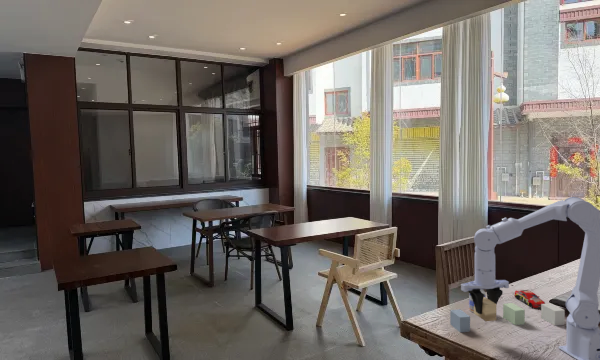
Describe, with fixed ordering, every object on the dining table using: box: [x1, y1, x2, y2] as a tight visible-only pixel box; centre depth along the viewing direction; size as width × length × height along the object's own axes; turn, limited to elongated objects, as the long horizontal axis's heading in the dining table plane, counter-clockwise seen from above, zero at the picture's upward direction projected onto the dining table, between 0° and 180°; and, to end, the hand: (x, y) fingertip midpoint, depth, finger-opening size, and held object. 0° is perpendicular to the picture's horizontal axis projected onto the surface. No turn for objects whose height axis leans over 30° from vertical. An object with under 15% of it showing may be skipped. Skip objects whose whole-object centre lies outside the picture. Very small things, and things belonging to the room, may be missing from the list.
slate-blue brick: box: [449, 308, 471, 333], centre depth 129 cm, size 6×4×5 cm, turn 8°
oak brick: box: [473, 297, 497, 322], centre depth 120 cm, size 6×4×5 cm, turn 8°
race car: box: [514, 289, 546, 309], centre depth 148 cm, size 13×5×4 cm, turn 3°
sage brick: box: [502, 302, 526, 326], centre depth 133 cm, size 6×4×5 cm, turn 8°
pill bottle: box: [468, 289, 487, 314], centre depth 142 cm, size 5×5×10 cm
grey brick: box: [540, 302, 566, 327], centre depth 132 cm, size 6×4×5 cm, turn 8°
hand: (485, 312), depth 120 cm, fingers closed on oak brick, 3 cm apart
